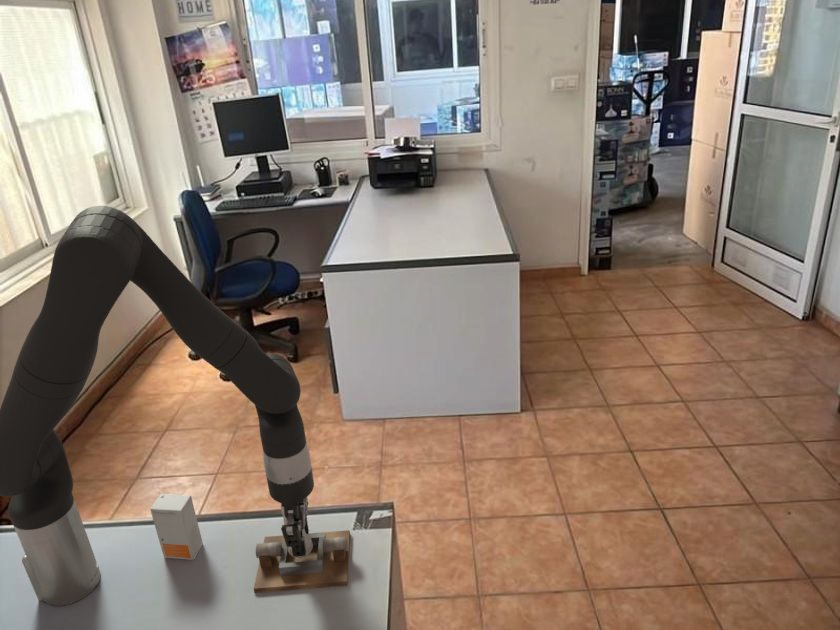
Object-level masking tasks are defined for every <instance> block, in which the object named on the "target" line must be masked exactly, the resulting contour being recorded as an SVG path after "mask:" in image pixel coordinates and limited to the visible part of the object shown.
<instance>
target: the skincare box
mask: <svg viewBox="0 0 840 630" xmlns="http://www.w3.org/2000/svg"><path fill="white" fill-rule="evenodd" d="M150 514H151V516H152V520H153V524H154V528H155V531H156V533H157V534H156V535H157V537H158V541H159V544H160V548H161V552H162V555H163V558H165V559H180V560H187V561H188V560H189V561H194V560H195V559H196V557H197V554H199V551H200V549H201V548H202V546H203V539H202V534H201V530H200V527H199V523H198V519H197V515H196V511H195V506H194V503H193V497H192V495H189V494H188V495H187V494H184V495H183V494H177V493H173V494H171V493H170V494H169V493H160V494H159V496H158V497H157V499H156V500H155V502H154V503H153V505H151V507H150Z"/></svg>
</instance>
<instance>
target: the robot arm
mask: <svg viewBox="0 0 840 630" xmlns="http://www.w3.org/2000/svg"><path fill="white" fill-rule="evenodd" d="M54 250H55V251H54V253H53V257H52V262H51V269H50V274H49V277H48V278H49V279H48V284H47V288H46V294H45V297H44V302H43V305H42V307H41V310H40V313H39V315H38V316H37V318H36V320H34V322H33V324H32V326H31V327H30V329H29V330H28V331H29V332H28V333H27V336H26V337H25V340H24V341H23V343H22V347H21V348H20V351H19V354H18V357H17V359H16V362H15V365H14V368H13V371H12V375H11V378H10V379H9V384H8V387H7V389H6V392H5V394H4V397H3V400H2V403H1V406H0V497H11V499H10V502H9V504H8V508H7V509H8V510H7V512H8V517H9V519H10V521H11V524H12V526H13V527H14V530H15V533H16V535H17V537H18V539H19V542H20V544H21V547H22V549H23V551H24V555H23V557H22V559H21V563H22V565H23V567H24V569H25V572H26V574H27V577H28V578H29V582H30V584H31V586H32V589H33V591H34V593H35V595H36V598H37V601H44V602H46V603H47V604H48V605H51V606H57V607H61V606H66V605H71V604H74V603H76V602H78V601H80V600H83V599H84V598H85V597H86V596H88V595H89V594H90V593H91V592H93V590H94V589H95V588H96V587H97V585H98V584H99V581H100V579H101V572H100V568H99V564H98V563H97V559H96V556H95V553H94V551H93V548H92V544H91V542H90V539H89V536H88V534H87V531H86V529H85V525H84V523H83V520H82V517H81V515H80V512H79V510H78V506H77V504H76V501H75V499H74V498H75V497H74V495H73V489H74V479H73V476H72V471H71V468H70V464H69V461H68V457H67V454H66V450H65V448H64V445H63V442H62V439H60V436H59V435H58V434H57V432H56V431H55V430H54V429H55V428H56V427H57V425H58V424H59V423H60V422H61V420H62V419H64V416H66V414H67V413H68V412H69V410H70V409H71V408H72V406H73V405H74V404H75V402H76V401H77V399H78V398H79V396H80V395H81V394H82V391H83V389H84V388H85V385H86V383H87V380H88V378H89V375H91V371H92V369H93V367H94V364H95V360H96V357H97V353H98V348H99V339H100V338H99V337H100V334H101V330H102V327H103V325H104V323H105V321H106V320H107V318H108V316H109V314H110V313H111V310H112V309H113V307H114V305H115V304H116V302H117V301H118V300H119V298H120V296H121V295H122V294H123V292H124V290H125V289H126V287H127V286H128V285H129V283H130V282H132V283H133V284H134V285H135V286H136V287H138V288H139V289H140V290H141V291H143V293H145V295H146V296H148V297H149V299H150V300H151V301H152V303H153V304H155V305H156V307H157V308H158V309H159V311H160V312H161V313H162V315H163V316H164V318H165V319H166V321H167V322H168V324H169V325H170V327H171V328H172V330H173V331H174V332H175V334H176V335H177V337H179V339H180V340H181V342H182V343H184V345H185V346H186V347H188V348H189V350H191V351H192V352H193V353H194V354H196V355H197V356H199V358H201V360H204V361H205V362H206V363H208V364H209V365H211V366H212V367H213V368H214V369H216V370H217V371H219V372H220V373H222V374H224V376H226V378H228V379H229V381H230V382H231V383H232V384H233V385H234V386H235V388H237V389H238V390H239V391H240V392H241V393H242V394H243V396H245V397H246V398H247V399H248V400H249V401H250V402H251V403H252V404H253V405H254V406H255V409H256V411H255V412H256V414H257V419H258V423H259V426H258V427H259V436H260V443H261V447H262V452H263V454H262V457H263V465H264V471H265V476H266V481H267V482H266V483H267V487H268V491H269V492H268V493H269V496H270V497H271V499H273V500H274V501H275V502H277V503H279V504H280V512H281V515H282V516H283V518H282V519H283V524H282V525H281V528H280V531H281V533H282V536H284V539H285V542H286V545H287V547H292V553H293V556H295V557H298V556H305V555H306V548H305V542H304V533H303V529H305V532H306V534H308V533H309V532H310V530H309V524H308V523H309V522H308V515H309V514H308V513H309V512H308V507H309V501H308V500H309V499H308V497H309V495H310V494H311V493H312V492H313V491H314V487H315V482H314V481H315V480H314V476H313V475H314V474H313V468H312V461H311V454H310V450H309V447H308V446H309V445H308V443H307V437H306V431H305V426H304V420H303V417H302V415H301V412H300V410H299V407H298V402H299V401H300V398H301V391H302V390H301V385H300V381H299V379H298V377H297V375H296V372H295V370H294V368H293V366H292V364H291V362H290V361H289V360H288V359H287V358H285V357H284V356H283V355H281V354H279V353H274V352H273V353H271V352H269V353H265V352H264V351H263V349H262V348H261V346H260V345H259V343H258V342H257V339H255V337H253V336H252V335H251V333H249V331H247V330H246V329H244V327H242V326H241V325H240V324H238V323H237V322H236V321H235V320H234V319H232V318H231V317H230V316H228V315H227V314H226V313H225V312H224V311H222V310H221V309H220V308H219V307H218V306H217V305H215V304H214V303H213V302H212V301H211V300H210V299H209V298H208V297H206V296H205V294H203V292H201V291H200V289H198V288H197V286H195V285H194V284H193V282H192V281H190V279H189V278H188V277H187V276H186V275H185V274H184V273H183V272H182V271H181V270H180V269H179V268H178V267H177V266H176V264H174V262H173V261H172V260H171V259H170V258H169V257H168V255H166V254H165V253H164V251H162V250H161V248H160V247H159V246H158V245H157V244H156V243H155V242H154V240H153V239H152V237H150V235H149V234H148V233H147V232H146V231H145V230H144V229H143V228H142V227H141V226H140V225H139V224H138V222H137V221H135V219H133V218H132V217H131V216H129V215H128V214H127V213H125V212H123V211H122V210H120V209H117V208H115V207H111V206H108V205H94V206H90V207H87V208H85V209H83V210H82V211H80V212H78V214H77V215H76V216H75V217H74V219H72V220H71V223H70V225H69V226H68V227H67V229H66V230H65V232H64V233H63V235H62V236H61V238H60V240H59V241H58V243H57V245H56V247H55V249H54ZM299 520H301V522H296V521H299Z"/></svg>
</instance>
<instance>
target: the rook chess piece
mask: <svg viewBox="0 0 840 630" xmlns="http://www.w3.org/2000/svg"><path fill="white" fill-rule="evenodd" d="M296 522H301V520H299V521H296ZM303 533H304V542H305V548H306V555H308V554H309V553H310V552H311V550H312V549H313V543H312V540H311V538H310V537H309V536H308V534H306V532H305V529H303ZM288 552H289V554H290V555H291V556H293V553H292V547H288ZM306 555H305V556H306ZM305 556H298V557H296V558H302V557H305ZM293 557H295V556H293Z"/></svg>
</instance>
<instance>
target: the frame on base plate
mask: <svg viewBox="0 0 840 630" xmlns="http://www.w3.org/2000/svg"><path fill="white" fill-rule="evenodd" d="M308 536H309V537H310V538H311V540H312V543H313V549H312V550H311V552H310V553H309V554H308V555H306V556H305V557H302V558H296V557H293V556H291V555H290V554H289V552H288V547H287V545H286V542H285V539H284V536H283V535H274V536H273V535H270V536H264V539H263V543H256V545H255V557H256V559H258V560H259V562H258V567H257V572H256V577H255V581H254V585H253V592H254V593H255V594H257V593H268V592H269V593H270V592H280V591H294V590H306V589H319V588H320V589H321V588H329V587H342V586H343V587H345V586H348V584H349V583H348V580H349V565H350V564H349V563H350V562H349V561H350V547H351V545H350V543H351V531H350V529H349V530H348V529H347V530H337V531H334V530H333V531H325V532H324V531H323V532H311V533H308Z"/></svg>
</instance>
